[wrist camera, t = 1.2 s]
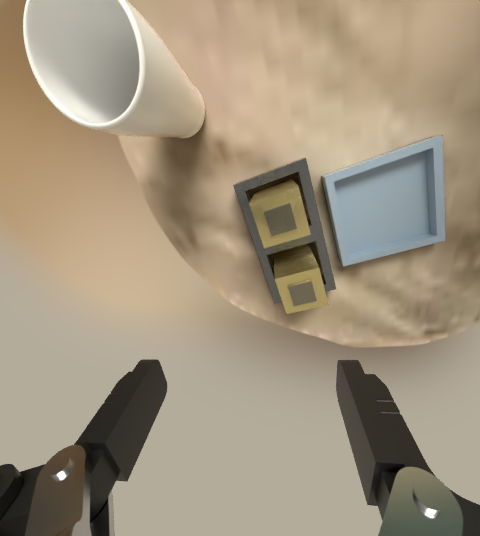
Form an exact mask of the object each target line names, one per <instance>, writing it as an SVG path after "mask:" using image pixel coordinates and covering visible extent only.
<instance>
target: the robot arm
mask: <svg viewBox="0 0 480 536" xmlns="http://www.w3.org/2000/svg"><path fill="white" fill-rule="evenodd" d="M336 391H337V397H338V402H339V406H340V409H341V413H342V416H343V420H344V423H345V427H346V430H347V434H348V437H349V441H350V444H351V448H352V452H353V455H354V458H355V462H356V466H357V469H358V473H359V476H360V480H361V483H362V487H363V490H364V494H365V497H366V501H367V504H368V505H374V506H378V508H379V511H380V514H381V517H382V525H381V528H380V531H379V534H378V536H480V505H478V504H476V503H473V502H471V501H469V500H466V499H464V498H462V497H461V496H459V495H457V494H456V493H454V492H453V491H451V490H450V489H449V488H447V487H446V486H445V485H444V483H442V482H441V481H440V480H439V479H438V478H437V477H436V476H435V475H434V474H433V472H432V471H431V470H430V468H429V467H428V465H427V463H426V462H425V460H424V458H423V456H422V454H421V452H420V450H419V448H418V446H417V444H416V442H415V440H414V438H413V436H412V435H411V433H410V431H409V429H408V427H407V425H406V423H405V421H404V419H403V417H402V415H400V411H399V409H398V407H397V406H396V404H395V403H394V400H393V398H392V396H391V394H390V392H389V390H388V388H387V386H386V385H385V384H384V383H383V382H382V381H381V380H380V379H379V378H378V377H377V376H376V375H374V374H365V373H364V371H363V369H362V367H361V364H360V363H359V361H358V360H338V364H337V382H336ZM166 392H167V381H166V379H165V376H164V373H163V370H162V367H161V365H160V362H159V361H158V360H141V361H139V362H138V364H137V365H136V367H135V369H134V370H133V371H132V372H128V373H127V374H126V375H125V376H124V377H123V378H122V379H120V381H118V383H117V384H116V386H115V387H114V388H113V390H112V391H111V394H109V396H108V397H107V399H106V400H105V403H104V404H103V405H102V406H101V407H100V409H99V410H98V411H97V413H96V414H95V416H94V417H93V419H92V420H91V422H90V423H89V424H88V426H87V427H86V429H85V430H84V432H83V433H82V435H81V436H80V437H79V439H78V440H77V442H76V443H75V444H74V445H71V446H69V447H66V448H64V449H62V450H61V451H59V452H58V453H56V454H55V455H54V456H53V457H52V458H51V459H50V460H49V461H48V462H47V463H46V464H45V465H41V466H38V467H35V468H31V469H28V470H25V471H22V472H19V471H18V470H17V469H16V468H15V467H14V465H12V464H5V465H1V466H0V536H115V533H114V512H113V495H112V491H111V490H112V488H113V486H114V483H115V482H116V481H128V479H129V476H130V474H131V472H132V470H133V467H134V465H135V463H136V461H137V459H138V456H139V454H140V452H141V449H142V447H143V445H144V443H145V441H146V439H147V436H148V434H149V432H150V429H151V427H152V425H153V423H154V421H155V418H156V416H157V414H158V412H159V410H160V407H161V405H162V403H163V401H164V398H165V396H166Z"/></svg>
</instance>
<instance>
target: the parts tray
mask: <svg viewBox="0 0 480 536" xmlns="http://www.w3.org/2000/svg"><path fill="white" fill-rule="evenodd" d="M321 177H322V181H323V186H324V191H325V195H326V200H327V205H328V210H329V214H330V219H331V224H332V228H333V233H334V238H335V242H336V247H337V252H338V256H339V261H340V262H341V264H342V265H343V266H347V265H351V264H355V263H359V262H363V261H367V260H371V259H375V258H379V257H383V256H387V255H391V254H395V253H399V252H403V251H406V250H410V249H414V248H418V247H422V246H426V245H430V244H434V243H438V242H442V241H446V239H445V204H444V168H443V135H441V136H435V137H430V138H427V139H424V140H421V141H418V142H416V143H413V144H410V145H407V146H404V147H402V148H399V149H396V150H393V151H390V152H387V153H385V154H382V155H379V156H376V157H373V158H371V159H368V160H365V161H362V162H359V163H356V164H354V165H351V166H348V167H345V168H342V169H340V170H337V171H334V172H331V173H328V174H325V175H323V176H321Z"/></svg>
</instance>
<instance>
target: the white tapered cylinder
mask: <svg viewBox="0 0 480 536" xmlns="http://www.w3.org/2000/svg"><path fill="white" fill-rule="evenodd" d="M23 33H24V42H25V48H26V52H27V56H28V60H29V63H30V66H31V68H32V71H33V73H34V75H35V78H36V80H37V82H38V83H39V85H40V87H41V89H42V90H43V92H44V93H45V95H46V96H47V97H48V99H49V100H50V101H51V102H52V104H53V105H54V106H55V107H56V108H57V109H58V110H59V111H61V113H63V114H64V115H65V116H66V117H68V118H69V119H71V120H72V121H74V122H76V123H77V124H80V125H82V126H85V127H87V128H91V129H96V130H99V131H103V132H107V133H112V134H116V135H122V136H130V137H176V138H189V137H191V136H193V135H195V134H196V133H197V132H198V131H199V130H200V128H201V127H202V125H203V122H204V118H205V105H204V101H203V98H202V96H201V94H200V92H199V91H198V89H197V88H196V87H195V86H194V85H193V84H192V83H191V81H190V80H189V78H188V77H187V75H186V74H185V73H184V71H183V70H182V68H181V67H180V65H179V64H178V62H177V61H176V59H175V58H174V56H173V55H172V53H171V52H170V50H169V49H168V47H167V46H166V45H165V43H164V42H163V40H162V39H161V38H160V36H159V35H158V34H157V32H156V31H155V30H154V29H153V27H152V26H151V25H150V24H149V23H148V22H147V20H146V19H145V18H144V17H143V16H142V15H141V14H140V13H139V12H138V11H137V9H136V8H135V7H134V6H133V5H132V4H131V3H130V2H129V1H128V0H27V1H26V5H25V10H24V18H23Z"/></svg>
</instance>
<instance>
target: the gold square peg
mask: <svg viewBox="0 0 480 536" xmlns="http://www.w3.org/2000/svg"><path fill="white" fill-rule="evenodd" d="M274 273H275V282H276V285H277V288H278V291H279V293H280V296H281V299H282V302H283V305H284V308H285V311H286V314H290V313H294V312H299V311H303V310H308V309H313V308H317V307H322V306H326V305H329V304H328V300H327V296H326V292H325V288H324V284H323V280H322V277H321V273H320V269H319V266H318V264H317V261H316V259H315V257H314V255H313V253H312V250H311V248H310V246H309V244H308V243H307V244H304V245H300V246H297V247H293V248H290V249H286V250H283V251H279V252H276V253H274Z"/></svg>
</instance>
